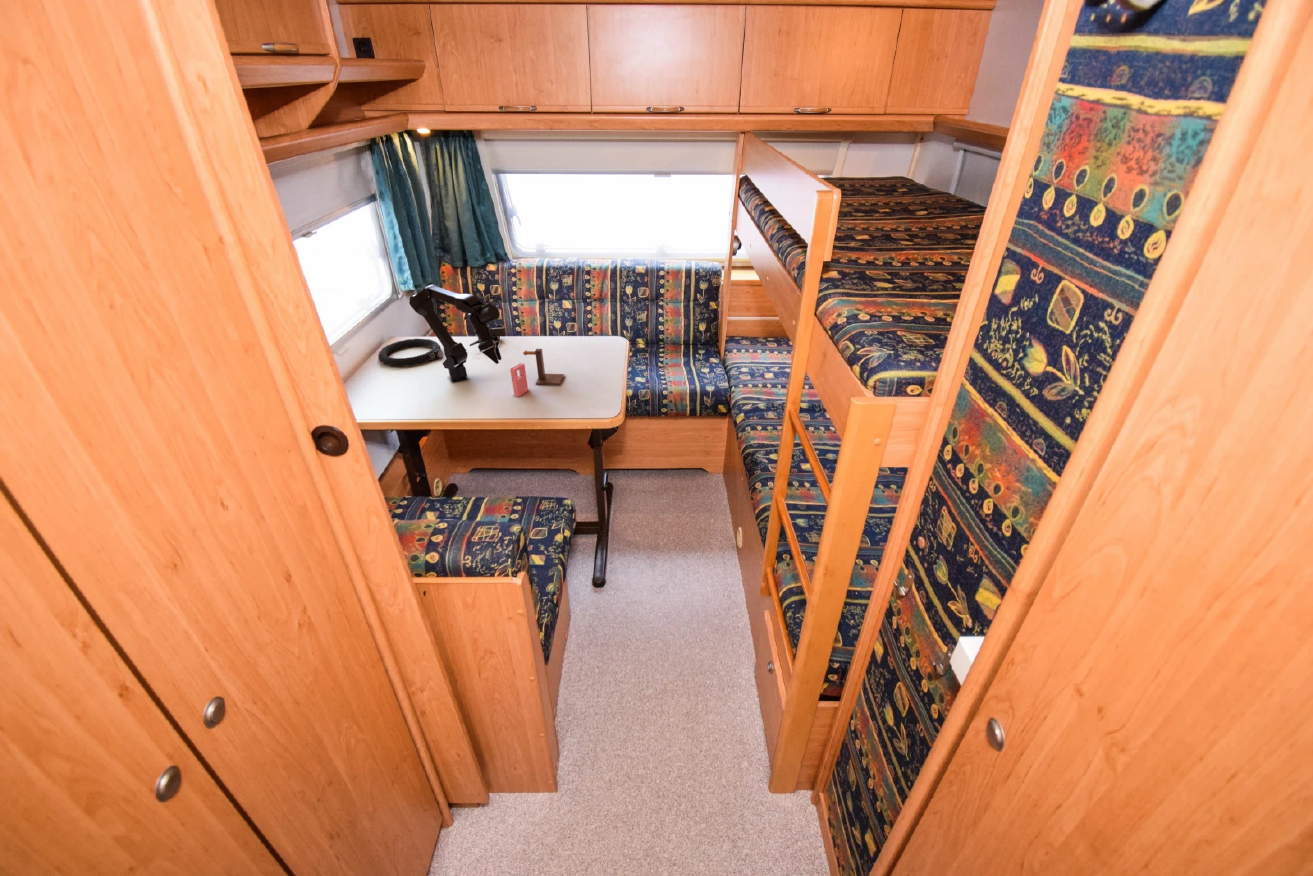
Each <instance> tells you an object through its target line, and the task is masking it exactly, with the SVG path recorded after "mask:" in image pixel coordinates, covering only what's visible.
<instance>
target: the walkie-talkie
mask: <svg viewBox="0 0 1313 876" xmlns="http://www.w3.org/2000/svg"><path fill="white" fill-rule="evenodd" d="M498 337H499V339H500V340H501V336H498ZM478 344H480V340H479V338H478V337H477V340H476V341H473V342H472V343H470V344H469V346H470V347H472V346H475V345H478Z"/></svg>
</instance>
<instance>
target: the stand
mask: <svg viewBox="0 0 1313 876" xmlns="http://www.w3.org/2000/svg"><path fill="white" fill-rule="evenodd" d="M522 354H523V355H524V356H527V355H528V356H529V355H530V356H535V362H536V369H537V376H538V378H537V380H536V382H535V385H536V386H561V384H562V382H563V380H564V377H565V373H546V370H545V362H544V354H543V348H536V349H535V350H532V351H531V350H523V352H522Z"/></svg>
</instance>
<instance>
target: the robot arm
mask: <svg viewBox="0 0 1313 876" xmlns="http://www.w3.org/2000/svg"><path fill="white" fill-rule="evenodd" d="M433 299H434V300H438V301H440V302H444V303H446V304H450V305H451V306H454V307H455V309H456V310H458V311H460V312H462V313H463V314H464V317H463V321H467V320H468V321H469V323H470V325H471V327H472V328H473V332H474V335H476V336H477V339H478V338H479V340H480V343H478V346H477V348H478V350H479V352H481V354H484V356H486V357H487V358H488V359H490V360H491V361H492V362H493V363H495V364H496V365H498V364H500V362H499V361H502V356H501V352H500V347H499V345H500V342H501V341H500V340H501V338H500V339H499V337H498V336H500V337H506V336H507V334H508V333H507V328H506V327H505V326H504V325H503V324H497V326H496V327H491V325H490V324H489V323H492V322H494V321H496V320H498V319H499V318H500V317H501V312H500V309H499V308H498V307H497V306H495V305H493V304H492V303H491V302H488V303H485V302H483V301H481V300H480V299H478V298H477V296H476V295H474V294H470V293H457V292H454V291H451V290H448V289H445V288H442V287H439V286H437V285H435V284H430V285H427V286H426V287H424V288H423V289H422V290H421V291H419V292H418V293H416V294H414V295H411V296H409V299H408V303H409V306H410V307H411V308H412V309H413V311H414V312H415V313H416V314H418V315H420V316H422V317H423V318H424V320H425V322H426V323H427V324H428V326H429V327H430V329H431V331H432V332H433V333H434V335H435V336H436V338H437V339H438V341H439V342H440V344H441V346H442V347H443V355H444V357H445V359H444V361H443V362H442V366H443V368H444V369H447V370H448V378H449V380H450V381H451V383H457V382H462V381H466V380H468V373H467V368H466V366H465V365H464V364H466V363H467V360H468V355H469V354H468V352H467V348H465V346H464V344H463V343H462V342H457V341H456V340H455V339H453V337H452V335H451V334H450V332H449V331H448V329H447V328H446V326H445V324H444V323H443V322H442V320H441V319H440V317H439V316H438V314H437V313H436V311H435V304H434V301H433Z"/></svg>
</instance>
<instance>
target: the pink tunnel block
mask: <svg viewBox="0 0 1313 876" xmlns="http://www.w3.org/2000/svg"><path fill="white" fill-rule="evenodd" d="M509 370H510V371H509V372H510V376H511V383H512V389H513V395H514V397H517V398H520V396H522V395H523V394H525V393H527V392H528V391H529V386H528V380H527V373H526V364H525V363H523V362H519V363H518V364H516V365H515V366H512V367H511V368H510V369H509ZM518 372H519V373H518ZM518 374H519V375H518Z"/></svg>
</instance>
